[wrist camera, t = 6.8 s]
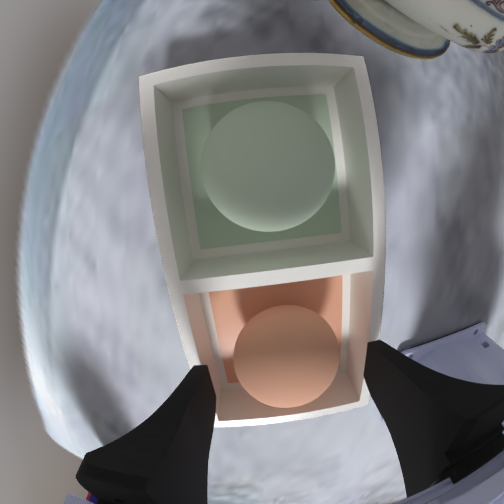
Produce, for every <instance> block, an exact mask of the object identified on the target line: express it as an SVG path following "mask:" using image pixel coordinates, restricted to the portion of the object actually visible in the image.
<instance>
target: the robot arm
mask: <svg viewBox="0 0 504 504" xmlns="http://www.w3.org/2000/svg"><path fill="white" fill-rule="evenodd" d="M485 330H486V324H485V323H484V322H481V323H479V324H476V325H474V326H472V327H469V328H467V329H464V330H462V331H459V332H457V333H454V334H452V335H449V336H446V337H444V338H441V339H438V340H435V341H432V342H429V343H426V344H423V345H420V346H417V347H414V348H411V349H408V350H404V351H402V352H399V351H397V350H396V349H394V348H393V347H391V346H389V345H388V344H386V343H384V342H383V341H381V340H376V341H372V342H368V343H367V351H366V359H365V367H364V374H363V376H364V379H365V382H366V385H367V387H368V390H369V393H370V395H371V397H372V399H373V400H374V402H375V404H376V406H377V408H378V410H379V412H380V414H381V416H382V419H381V420H382V422H383V423H386V425H387V427H388V429H389V432H390V434H391V437H392V440H393V442H394V445H395V448H396V452H397V455H398V458H399V462H400V465H401V469H402V473H403V478H404V483H405V488H406V494H407V498H406V499H403V500H401V501H398V502H396V503H393V504H504V350H503V349H502V348H501V347H500V346H499V345H498V344H496V343H495V342H494V341H493V340H492V339H490V338H489V337H488V336H487V335H486V334H484V333H485ZM409 355H410V356H409ZM215 416H216V394H215V390H214V387H213V383H212V380H211V376H210V373H209V369H208V365H194V366H193V367H192V368H191V370H190V371H189V372H188V374H187V375H186V376H185V378H184V379H183V380H182V382H181V383H180V384H179V386H178V387H177V388H176V389H175V390H174V392H173V393H172V394H171V395H170V396H169V398H168V399H167V400H166V401H165V402H164V403H163V404H162V405H161V406H160V407H159V408H158V409H157V410H156V411H155V412H154V413H153V414H152V415H151V416H150V417H149V418H148V419H146V420H145V421H144V422H143V423H141V424H140V425H139V426H137V427H136V428H134V429H133V430H132V431H130V432H129V433H127V434H126V435H124V436H122V437H121V438H119V439H117V440H115V441H113V442H111V443H109V444H107V445H105V446H103V447H100V448H98V449H96V450H93V451H91V452H88V453H86V455H85V457H84V459H83V461H82V463H81V465H80V468H79V470H78V472H77V474H76V479H77V480H78V482H79V483H80V484H81V485H82V486H83V487H84V488H85V489H86V490H87V491H88V492H89V493H91V494H92V495H93V496H94V497H96V498H97V499H98V502H97V504H207V476H208V458H209V451H210V445H211V439H212V434H213V428H214V422H215ZM63 504H94V503H92V502H90V501H87V500H85V499H82V498H80V497H77V496H75V495H72V494H67V496H66V499H65V501H64V503H63Z"/></svg>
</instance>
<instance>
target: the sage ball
mask: <svg viewBox="0 0 504 504" xmlns="http://www.w3.org/2000/svg"><path fill="white" fill-rule="evenodd" d="M201 175H202V180H203V184H204V187H205V190H206V192H207V194H208V196H209V198H210V200H211V201H212V203H213V204H214V206H215V207H216V208H217V209H218V210H219V211H220V212H221V213H222V214H223V215H224V216H225V217H226V218H228V219H229V220H231V221H232V222H234V223H236V224H238V225H240V226H242V227H245V228H248V229H251V230H255V231H263V232H274V231H282V230H286V229H290V228H293V227H295V226H297V225H299V224H302V223H303V222H305V221H306V220H308V219H309V218H310V217H312V216H313V215H314V214H315V213H316V212H317V211H318V210H319V209H320V208H321V206H322V205H323V204H324V202H325V201H326V199H327V197H328V195H329V193H330V191H331V188H332V185H333V181H334V175H335V159H334V153H333V149H332V146H331V143H330V141H329V139H328V137H327V135H326V133H325V132H324V130H323V129H322V127H321V126H320V125H319V124H318V123H317V122H316V121H315V120H314V119H313V118H312V117H311V116H310V115H308V114H307V113H306V112H304V111H302V110H301V109H299V108H297V107H295V106H292V105H289V104H286V103H282V102H277V101H258V102H252V103H248V104H245V105H242V106H240V107H238V108H236V109H234V110H232V111H231V112H229V113H228V114H227V115H225V116H224V117H223V118H222V119H221V120H220V121H219V122H218V123H217V124H216V125H215V126H214V128H213V129H212V131H211V132H210V134H209V136H208V138H207V140H206V142H205V145H204V148H203V152H202V157H201Z"/></svg>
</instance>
